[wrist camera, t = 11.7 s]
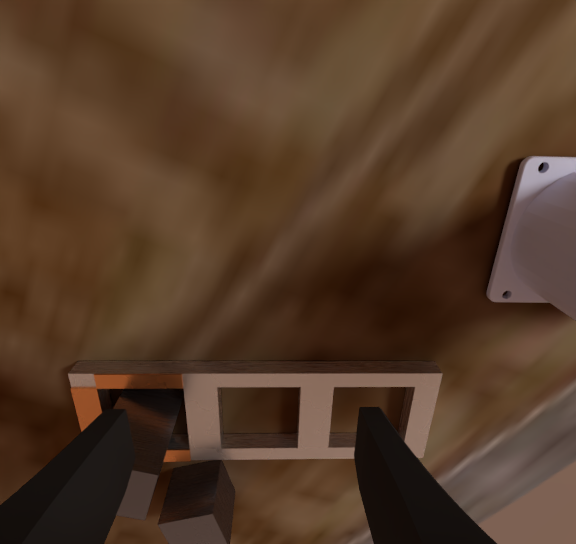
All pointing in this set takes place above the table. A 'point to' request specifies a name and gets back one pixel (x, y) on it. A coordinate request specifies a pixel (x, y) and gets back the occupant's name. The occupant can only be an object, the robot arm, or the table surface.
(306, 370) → the square hole plate
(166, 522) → the grey wood-grain cube
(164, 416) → the dark square post
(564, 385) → the table surface
